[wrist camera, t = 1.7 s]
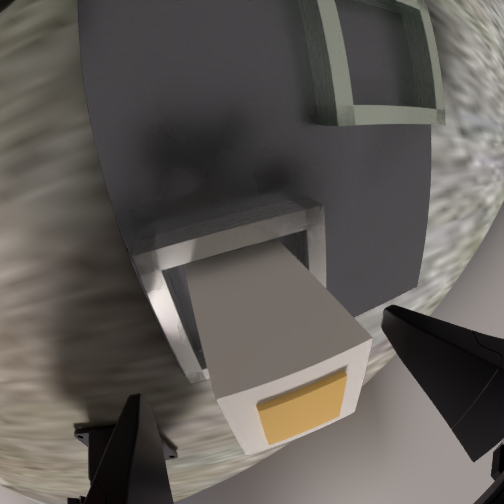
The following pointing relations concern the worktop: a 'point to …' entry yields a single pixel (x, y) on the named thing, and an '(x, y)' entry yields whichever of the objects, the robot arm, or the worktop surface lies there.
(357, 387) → the plug
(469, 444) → the robot arm
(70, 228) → the worktop surface
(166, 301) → the panel
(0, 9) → the supplement bottle
